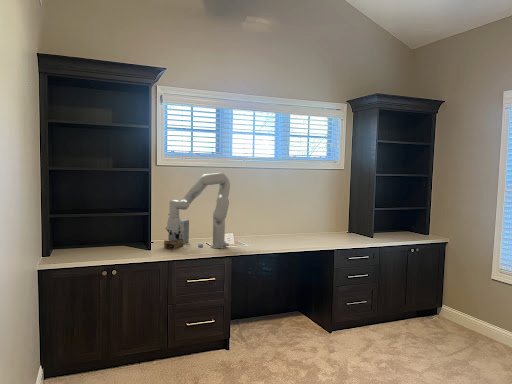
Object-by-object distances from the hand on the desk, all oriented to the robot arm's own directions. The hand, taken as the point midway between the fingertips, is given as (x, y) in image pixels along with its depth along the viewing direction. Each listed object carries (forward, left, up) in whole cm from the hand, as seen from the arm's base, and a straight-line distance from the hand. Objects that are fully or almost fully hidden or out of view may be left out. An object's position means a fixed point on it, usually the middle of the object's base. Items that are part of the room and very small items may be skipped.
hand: (174, 238), depth 302 cm
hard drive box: (+5, -16, -8) cm, 19 cm away
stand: (0, 0, -7) cm, 7 cm away
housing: (0, 0, -1) cm, 1 cm away
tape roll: (-18, -10, -7) cm, 22 cm away
